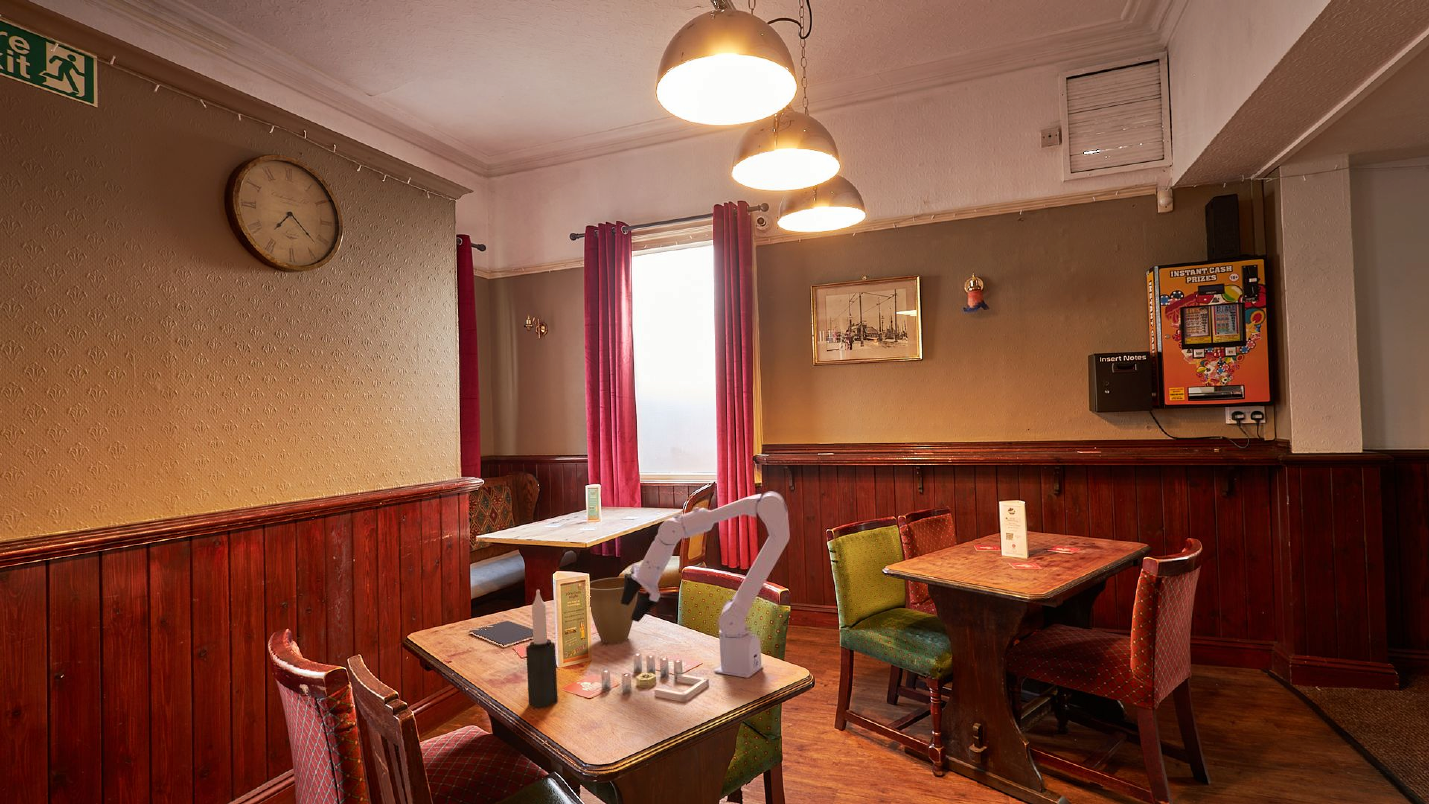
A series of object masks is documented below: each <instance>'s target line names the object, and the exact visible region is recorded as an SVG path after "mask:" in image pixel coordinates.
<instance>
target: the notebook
mask: <svg viewBox="0 0 1429 804" xmlns="http://www.w3.org/2000/svg"><path fill="white" fill-rule="evenodd" d="M487 626H493V627H487ZM477 629H479V630H474V629H472V630H469V631H468V633H469V632H473V633H474V634H476V635H479V636H482V637H484V638H487V639H489V640H491V641H494V642H496V643H498V644H502V645H503V646H504V645H507V644H512V643H515V642H517V641H522V640H524V639H527V638H532V637H533V628H531V627H528V626H525V625H522V624H519V623H517V622H513V621H510V620H504V621H500V622H497V624H496V623H494V624H490V625H486V627H485V626H482V627H479V628H478V627H477ZM481 629H482V630H481ZM485 629H486V630H485Z"/></svg>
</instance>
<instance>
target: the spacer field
mask: <svg viewBox="0 0 1429 804" xmlns="http://www.w3.org/2000/svg"><path fill="white" fill-rule="evenodd" d="M655 657H656V656H655V655H652V654H650V655H646V657H645V658H646V673H653V674H654V675H656V660H655V659H656V658H655ZM632 658H633V672H634V673H641V672H642V671H643V663H642V662H643V661H642V653H641V652H636V653H634V654H633V657H632ZM669 667H670V666H669V658H668V657H660V658H659V669H660V670H659V671H660V673H659V674H660V677H661V678H667V677H669V675H670V671H669V670H670V669H669ZM683 672H684V671H683V660H682V659H675V660H673V679H674V680H676V681H677V675H678V674H683ZM600 674H601V675H600V676H601V690H602V691H610V690H611V689H612V687H611V686H612V685H611V684H612V683H611V671H610V669H604V670H601V671H600ZM683 675H684V674H683ZM631 676H632V675H631V673H623V674H621V689H622V695H626V696H627V695H630V694H632V677H631Z"/></svg>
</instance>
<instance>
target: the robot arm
mask: <svg viewBox="0 0 1429 804" xmlns="http://www.w3.org/2000/svg"><path fill="white" fill-rule="evenodd" d="M788 509H789V508H788V507H787V503H786V502H785V500H784V498H783V496H782V495H781V494H780V493H779V492H776V491H772V490H771V491H767V492H764V493H763V494H762V493H758V494H753V495H750V496H746V497H744V498H741V499H738V500H736V501H733V502H730V503H727V504H725V505H722V506H720V507H717V508H714V509H711V510H710V509H707V508H705V507H701V508H700V507H699V506H696V507H694V508H693V509H692V511H690V512H686V513H683V514H681V515H680V514H679V513H678V514H675V515H674V517H670V518H668V519H665V520H664V522H661V524H660V526H659V527H658V529H657V534H656V535H655V537H654V540H653V541H652V542H651V544H650V547H649V548H648V550H647V552H646V554H645V556H644V558H643V561H642V562H641V564H640V565H635V564H633V565H632V566H631V567H630V570H629V572H630V573H624V578H625V584H624V591H623V595H622V599H621V604H625V605H629V604H630V603H631V601H632V600H633V598H634V596H635V595H636V593H637V592H638V595H637V602H636V606H635V608H634V611H633V613H632V616H631V620H633V622H636V623H639V622H640V621H641V620H642V618H644V617H645V615H646V614H647V613H648V612H649V611H651V609H653V608H654V607H656V606H658V605H659V603H660V600H659V599H660V597H661V593H660V591H659V586H658V584H659V582H660V579H661V577H662V575H663V574H664V571H665V570H666V568H667V566H668V564H669V562H670V560H671V558H672V556H673V555H674V550H675V548H676V547H677V544H678V543H679V542H680V541H681V539H683V538H684V539H688V538H692V537H694V536H697V535H700V534H703V533H706V532H709V531H711V530H712V528H713V527H714V524H716V523H720V522H723V521H726V520H729V519H732V518H736V517H740V516H743V515H746V516H750V517H753V518H756V517H757V515H758V516H759V518H760V519H761V522H763V523H764V524H765V528H766V530H767V535H768V536H767V539H766V541H765V543H764V544H763V546H762V548H761V549H760V551H759V553H758V555H757V556H756V558H755V560H754V561H753V563H752V565H751V567H750V568H749V570H748V572H747V574H746V576H745V577H744V579H743V581H742V582H741V583H740V584H741V585H739V587H738V589H737V591H736V592H735V594H734V595H733V596H732V598H731V599H730V600H728V601H726V602H725V603H724V605H723V606H722V609H721V610H722V611H721V614H720V615H719V617H718V627H719V630H718V635H719V653H720V666H718V667H717V668H715V669H714V670H713V672H714V673H717V674H723V675H727V676H734V677H740V678H741V677H742V678H745V679H748V678H750V677H751V676H753V675H754V674H755V673H757V672H758V671H760V670H761V669H762V668H763V667H764V665H763V664H762V651H761V640H760V637H759V636H758V635H757V634H753V633H752V632H750V630H749V627H748V626H747V624H746V620H747V618H748V614H749V613H750V610H751V608H752V605H753V603H754V602H755V600H756V598H757V597H758V594H759V593H760V591H761V590H762V588H763V585H764V584H765V583H766V581H767V579H768V577H769V576H770V573H772V571H773V568H774V567H775V565H776V563H777V561H778V560H779V558H780V556H781V555H782V553H783V551H784V550H785V548H786V546H787V544H788V543H789V540H790V538H791V537H790V535H791V534H790V524H789V523H790V522H789V511H788ZM641 588H643V589H644V591H645V592H641V591H640V590H641Z"/></svg>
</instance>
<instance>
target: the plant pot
mask: <svg viewBox="0 0 1429 804" xmlns="http://www.w3.org/2000/svg"><path fill="white" fill-rule="evenodd" d="M624 584H625V577H607V578H602V579H601V578H600V579H597V580H596V579H595V580H592V581H590V595H591V597H590V606H589V608H590V607H591V610H590V613H591V617H592V621H593V623H594V626H595V629H596V631H597V635H598V637H599V639H600V641H601V642H602V643H603V644H609V645H611V644H619V643H620V644H621V643H623V642H625V641H627V640H628V638H629V635H630V632H631V629H632V625H633V622H634V621H633V620H631V616H632V613H633V611H634V608H635V606H636V602H637V597H638V592H639V591H638V592H637V593H636V595H635V596H634V598H633V600H632V601H631V603H630V604H629V605H625V604H621V599H622V595H623V591H624Z"/></svg>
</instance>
